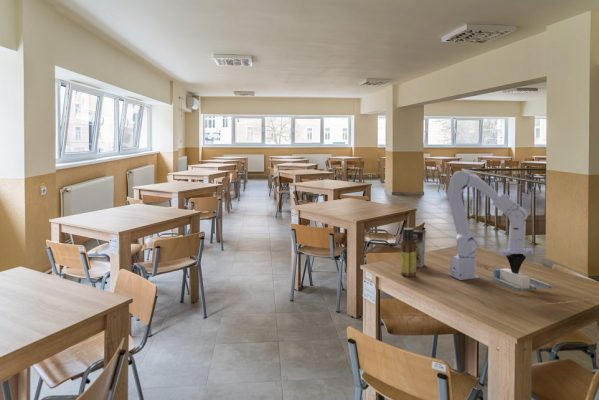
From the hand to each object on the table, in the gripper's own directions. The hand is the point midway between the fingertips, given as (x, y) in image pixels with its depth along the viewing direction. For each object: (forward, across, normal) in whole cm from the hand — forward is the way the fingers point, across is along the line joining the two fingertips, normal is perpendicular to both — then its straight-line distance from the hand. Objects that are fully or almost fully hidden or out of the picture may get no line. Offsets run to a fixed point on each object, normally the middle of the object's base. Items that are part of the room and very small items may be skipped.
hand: (514, 272), depth 176 cm
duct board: (+5, +3, 0) cm, 6 cm away
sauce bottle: (+5, -34, +22) cm, 41 cm away
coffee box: (+5, -24, +36) cm, 44 cm away
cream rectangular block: (+4, 0, 0) cm, 4 cm away
